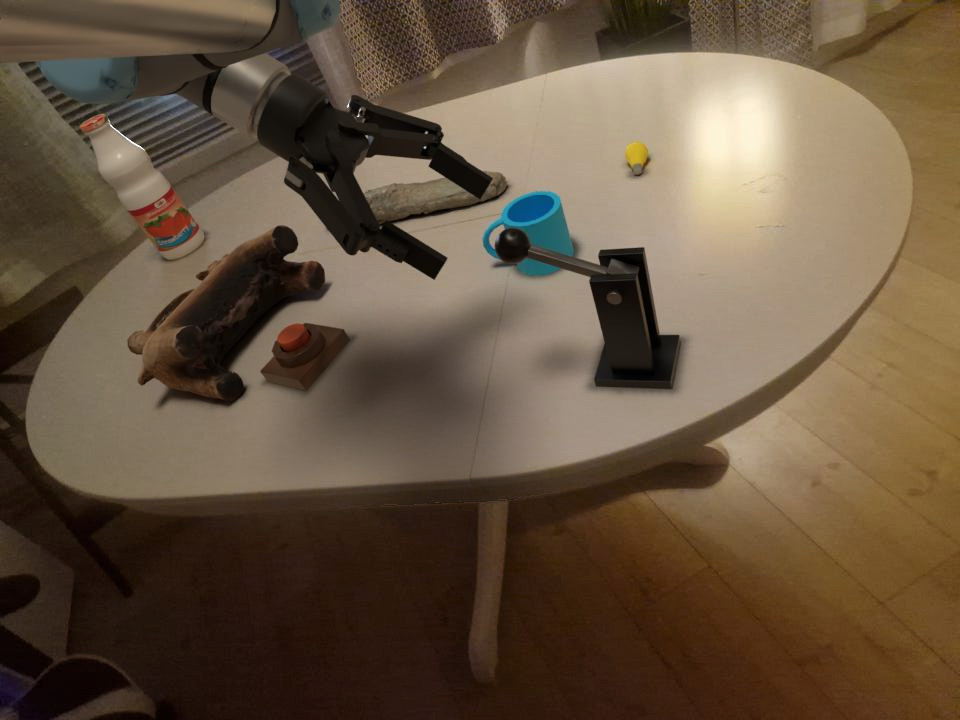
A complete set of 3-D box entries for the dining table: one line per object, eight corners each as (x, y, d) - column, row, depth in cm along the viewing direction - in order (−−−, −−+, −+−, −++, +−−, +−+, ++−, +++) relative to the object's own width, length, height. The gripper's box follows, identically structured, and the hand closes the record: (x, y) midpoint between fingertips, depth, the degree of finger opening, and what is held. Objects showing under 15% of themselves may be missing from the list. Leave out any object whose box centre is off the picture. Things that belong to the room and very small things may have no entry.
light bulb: (644, 154, 102) (649, 136, 99) (646, 182, 99) (651, 165, 96) (623, 153, 102) (626, 136, 99) (624, 182, 100) (628, 164, 97)
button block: (306, 391, 86) (292, 370, 83) (267, 382, 90) (252, 362, 88) (350, 340, 91) (337, 319, 89) (311, 333, 96) (298, 313, 93)
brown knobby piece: (291, 198, 96) (194, 222, 110) (163, 358, 80) (69, 361, 94) (341, 262, 104) (245, 276, 118) (235, 419, 88) (138, 414, 102)
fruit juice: (196, 230, 139) (108, 105, 121) (212, 239, 132) (122, 109, 114) (158, 255, 135) (61, 130, 117) (173, 265, 129) (73, 135, 111)
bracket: (595, 387, 70) (568, 288, 61) (608, 342, 75) (584, 244, 66) (671, 389, 67) (653, 286, 58) (680, 342, 71) (665, 239, 62)
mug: (575, 235, 92) (562, 185, 87) (573, 270, 87) (559, 219, 81) (495, 251, 96) (478, 204, 91) (488, 285, 90) (469, 237, 85)
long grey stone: (504, 213, 105) (513, 184, 113) (497, 183, 102) (506, 156, 109) (316, 239, 116) (335, 211, 123) (304, 213, 113) (324, 186, 120)
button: (297, 354, 86) (291, 345, 85) (277, 350, 88) (271, 341, 87) (315, 334, 88) (309, 324, 87) (296, 330, 91) (290, 321, 89)
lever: (488, 265, 65) (492, 237, 62) (499, 243, 67) (503, 216, 64) (625, 308, 63) (636, 281, 60) (632, 284, 65) (642, 257, 62)
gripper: (326, 81, 72) (488, 184, 75) (193, 207, 57) (404, 331, 60) (343, 21, 67) (518, 136, 70) (201, 144, 51) (433, 285, 54)
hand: (465, 226), depth 65 cm, fingers open, 13 cm apart
